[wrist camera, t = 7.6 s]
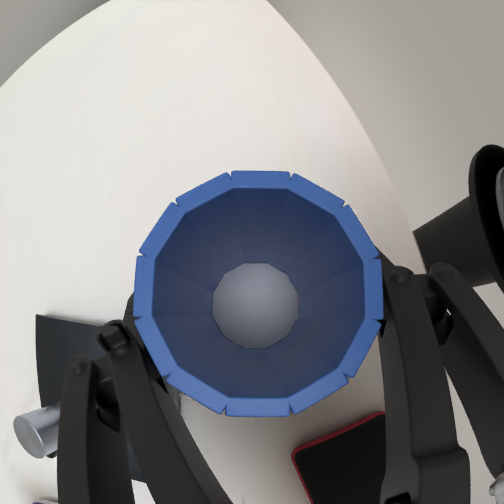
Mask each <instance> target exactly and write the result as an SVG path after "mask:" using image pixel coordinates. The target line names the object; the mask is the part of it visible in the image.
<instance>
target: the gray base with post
mask: <svg viewBox="0 0 504 504" xmlns="http://www.w3.org/2000/svg"><path fill="white" fill-rule="evenodd" d="M102 326H103V325H101V324H94V323H88V322H81V321H75V320H70V319H64V318H59V317H54V316H49V315H39V314H36V361H37V374H38V384H39V393H40V400H41V407H42V408H41V409H38V410H35V411H32V412H29V413H26V414H23V415H20V416H17V417H16V418H15V419H14V431H15V434H16V436H17V438H18V440H19V442H20V444H21V445H22V446H23V448H24V449H25V450H26V451H27V452H28V453H29V454H30V455H32V456H33V457H35V458H43V457H45V456H47V457H49V458H54V457H56V456H57V446H58V429H59V417H60V408H61V400H62V392H63V385H64V379H65V373H66V369H67V366H68V364H69V362H70V361H71V360H72V359H73V358H74V357H75V356H78V355H80V354H85V355H88V356H89V357H90V358H91V359H92V360H94V359H97V358H99V357H101V356H103V355H105V354H107V353H106V352H105V351H104V350H103V348H102V347H101V346H100V344H99V343H98V342H97V341H96V335H97V333H98V331H99V329H100V328H101V327H102ZM168 376H169V375H167V376H165V377H163V378H164V379H165V382H166V384H167V386H168V389H169V391H170V393H171V395H172V397H173V400H174V402H175V404H176V406H177V408H178V410H179V412H180V400H179V390H178V389H177V388H175V387H174V386H172V385H171V384H169V383H168V382H167V381H166V379H167V378H168ZM126 435H127V448H128V458H129V466H130V474H131V479H132V480H136V481H140V482H144V483H146V482H145V479H144V477H143V475H142V472H141V470H140V467H139V465H138V462H137V460H136V457H135V454H134V451H133V449H132V446H131V443H130V440H129V437H128V434H127V431H126Z"/></svg>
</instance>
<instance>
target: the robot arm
mask: <svg viewBox="0 0 504 504" xmlns="http://www.w3.org/2000/svg"><path fill="white" fill-rule="evenodd" d="M494 198H495V205H496V210H497V215H498V219H499V223H500V227H501V230H502V233H503V236H504V167H503V168H502V169H500V170H499V171H498V173H497V174H496V177H495V182H494ZM375 247H376V246H375ZM376 249H377V251H378V253H379V255H378V256H377V257H376V258H374V259H381V268H382V286H383V319H382V320H377V321H378V322H380V323H381V327H380V329H379V331H378V333H377V334H378V341H379V349H380V357H381V366H382V376H383V387H384V400H385V418H386V473H385V477H384V480H383V483H382V487H381V496H380V504H470V463H469V457H468V454H467V452H466V450H465V449H463V448H462V447H460V446H459V444H458V442H457V436H456V427H455V419H454V413H453V407H452V401H451V396H450V391H449V386H448V381H447V377H446V372H445V369H446V371H447V373H448V375H449V377H450V379H451V381H452V383H453V385H454V387H455V389H456V391H457V394H458V396H459V398H460V400H461V402H462V405H463V407H464V409H465V412H466V414H467V416H468V418H469V421H470V424H471V426H472V429H473V431H474V434H475V436H476V439H477V442H478V444H479V447H480V450H481V453H482V456H483V458H484V461H485V463H486V465H487V467H488V469H489V471H490V473H491V474H492V476H493V477H494V478H495V481H494V482H493V483H492V484H491V486H490V489H489V494H490V495H491V496H495V498H496V504H504V329H503V327H502V326H501V325H500V323H499V322H498V320H497V319H496V318H495V316H494V315H493V314H492V312H491V311H490V310H489V308H488V307H487V306H486V305H485V303H484V302H483V300H482V299H481V298H480V297H479V295H478V294H477V293H476V292H475V290H474V289H473V288H472V287H471V286H470V284H469V283H468V282H467V281H466V280H465V279H464V277H463V276H462V275H461V274H460V273H459V272H458V271H457V269H456V268H454V267H453V266H452V265H450V264H447V263H442V262H441V263H436V264H434V265H433V266H432V267H431V269H430V274H418V275H414V274H413V272H412V271H411V270H409V269H408V268H405V267H402V266H394V265H393V263H392V262H391V261H390V260H389V259H388V258H387V257H386V256H385V255H384V254H383V253H382V252H381V251H379V249H378V248H377V247H376ZM133 302H134V292H133V294H132V295H131V296H130V298H129V299H128V302H127V306H126V310H125V316H124V318H123V321H122V320H112V321H109V322H107V323H106V324H104V325H103V326H102V327H101V328H100V329H99V331H98V333H97V335H96V341H97V342H98V343H99V344H100V346H101V347H102V348H103V350H104V351H105V352H106V353H107V354H105V355H103V356H101V357H99V358H97V359H94V360H92V359H91V358H90V357H89V356H88V355H85V354H80V355H78V356H75V357H74V358H73V359H72V360H71V361H70V362H69V364H68V366H67V369H66V373H65V379H64V385H63V392H62V400H61V408H60V417H59V429H58V446H57V485H58V501H59V504H135V500H134V494H133V488H132V481H131V474H130V466H129V458H128V448H127V435H126V431H127V434H128V437H129V440H130V443H131V446H132V449H133V451H134V454H135V457H136V460H137V462H138V465H139V467H140V470H141V472H142V475H143V477H144V479H145V482H146V484H147V486H148V488H149V491H150V493H151V495H152V497H153V499H154V501H155V503H156V504H233V503H232V502H231V500H230V499H229V497H228V496H227V494H226V493H225V491H224V490H223V488H222V487H221V485H220V484H219V482H218V480H217V479H216V477H215V476H214V474H213V472H212V471H211V469H210V468H209V466H208V464H207V462H206V461H205V459H204V457H203V456H202V454H201V452H200V450H199V449H198V447H197V445H196V443H195V441H194V439H193V438H192V436H191V434H190V432H189V430H188V428H187V426H186V424H185V422H184V420H183V418H182V416H181V414H180V412H179V410H178V408H177V406H176V404H175V402H174V400H173V397H172V395H171V393H170V391H169V389H168V386H167V384H166V382H165V379H164V378H163V377H162V376H161V374H160V372H159V370H158V369H157V367H156V365H155V363H154V361H153V359H152V357H151V356H150V354H149V352H148V350H147V348H146V346H145V344H144V342H143V340H142V338H141V336H140V334H139V331H138V329H137V327H136V325H135V323H134V321H135V320H137V319H139V318H138V317H134V316H133ZM447 309H448V310H449V312H450V313H451V315H450V314H449V313H448V312H447ZM444 367H445V368H444Z"/></svg>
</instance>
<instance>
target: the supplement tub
mask: <svg viewBox="0 0 504 504" xmlns="http://www.w3.org/2000/svg"><path fill="white" fill-rule="evenodd" d="M33 504H58V503H56V502H53V501H49V500H38V501H36V502H34V503H33Z"/></svg>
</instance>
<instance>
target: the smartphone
mask: <svg viewBox="0 0 504 504" xmlns="http://www.w3.org/2000/svg"><path fill="white" fill-rule="evenodd" d="M291 458H292V462H293V464H294V466H295V468H296V471H297V473H298V475H299V478H300V480H301V482H302V484H303V486H304V489H305V491H306V493H307V495H308V498H309V500H310V502H311V504H380V496H381V487H382V483H383V480H384V477H385V473H386V418H385V412H382V411H378V412H375V413H373V414H371V415H369V416H367V417H365V418H363V419H361V420H359V421H357V422H355V423H353V424H351V425H349V426H346V427H344V428H342V429H340V430H338V431H335V432H333V433H331V434H328V435H326V436H324V437H321V438H319V439H316V440H314V441H311V442H308V443H306V444H303V445H300V446H298V447H297V448H296V449H295V450H294V451H293V452H292V455H291Z"/></svg>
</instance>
